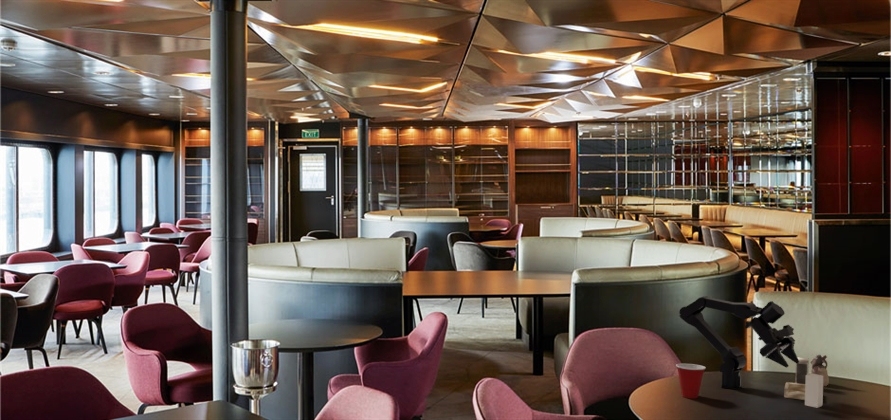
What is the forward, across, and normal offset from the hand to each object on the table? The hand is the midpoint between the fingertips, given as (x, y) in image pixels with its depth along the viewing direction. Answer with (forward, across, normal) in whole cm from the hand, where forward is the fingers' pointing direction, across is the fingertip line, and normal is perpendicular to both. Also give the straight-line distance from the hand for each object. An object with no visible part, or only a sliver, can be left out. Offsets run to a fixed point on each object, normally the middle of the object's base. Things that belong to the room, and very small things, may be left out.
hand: (793, 364), depth 284 cm
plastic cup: (-10, -24, +30) cm, 39 cm away
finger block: (+15, 0, +4) cm, 16 cm away
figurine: (+8, +31, +12) cm, 34 cm away
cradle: (+8, +14, +11) cm, 20 cm away
